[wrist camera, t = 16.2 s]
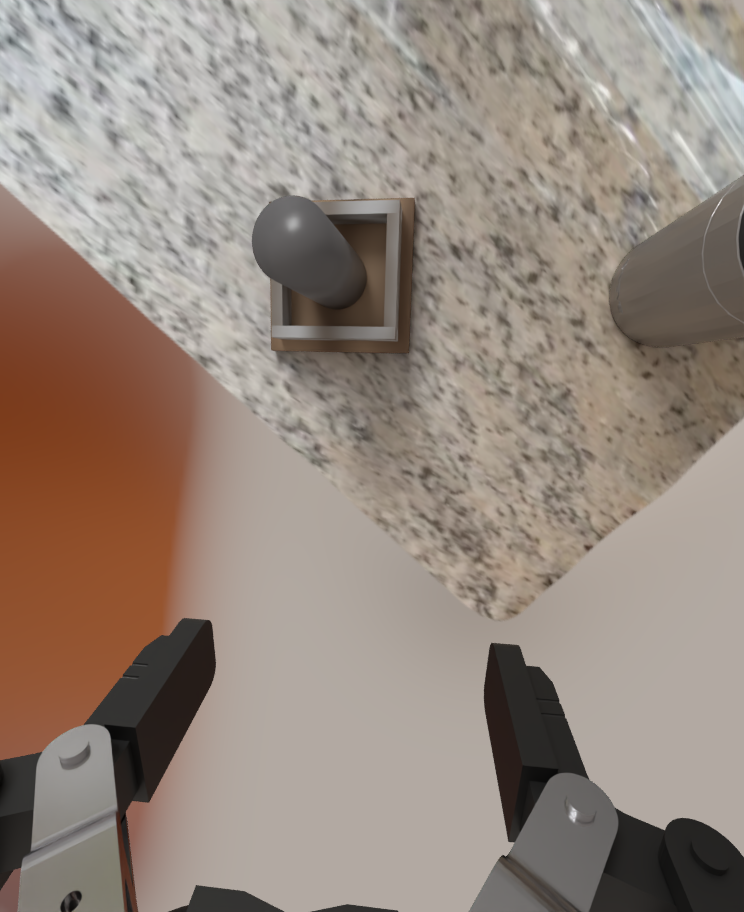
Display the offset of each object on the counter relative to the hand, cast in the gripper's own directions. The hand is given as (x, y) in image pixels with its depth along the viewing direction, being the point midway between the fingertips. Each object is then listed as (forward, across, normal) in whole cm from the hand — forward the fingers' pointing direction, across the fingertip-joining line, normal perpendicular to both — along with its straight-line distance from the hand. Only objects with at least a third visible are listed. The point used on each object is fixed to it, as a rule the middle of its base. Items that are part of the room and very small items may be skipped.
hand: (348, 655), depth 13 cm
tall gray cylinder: (+33, -6, +12) cm, 36 cm away
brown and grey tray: (+34, -5, +12) cm, 36 cm away
